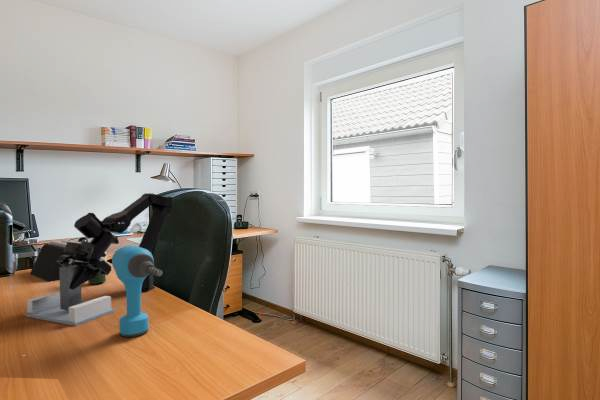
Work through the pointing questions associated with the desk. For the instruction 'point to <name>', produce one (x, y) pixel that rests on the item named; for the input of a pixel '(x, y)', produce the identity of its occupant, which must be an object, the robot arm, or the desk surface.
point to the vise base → (63, 316)
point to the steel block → (66, 293)
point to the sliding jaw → (43, 302)
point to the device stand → (50, 260)
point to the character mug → (98, 278)
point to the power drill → (134, 286)
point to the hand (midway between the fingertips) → (66, 288)
